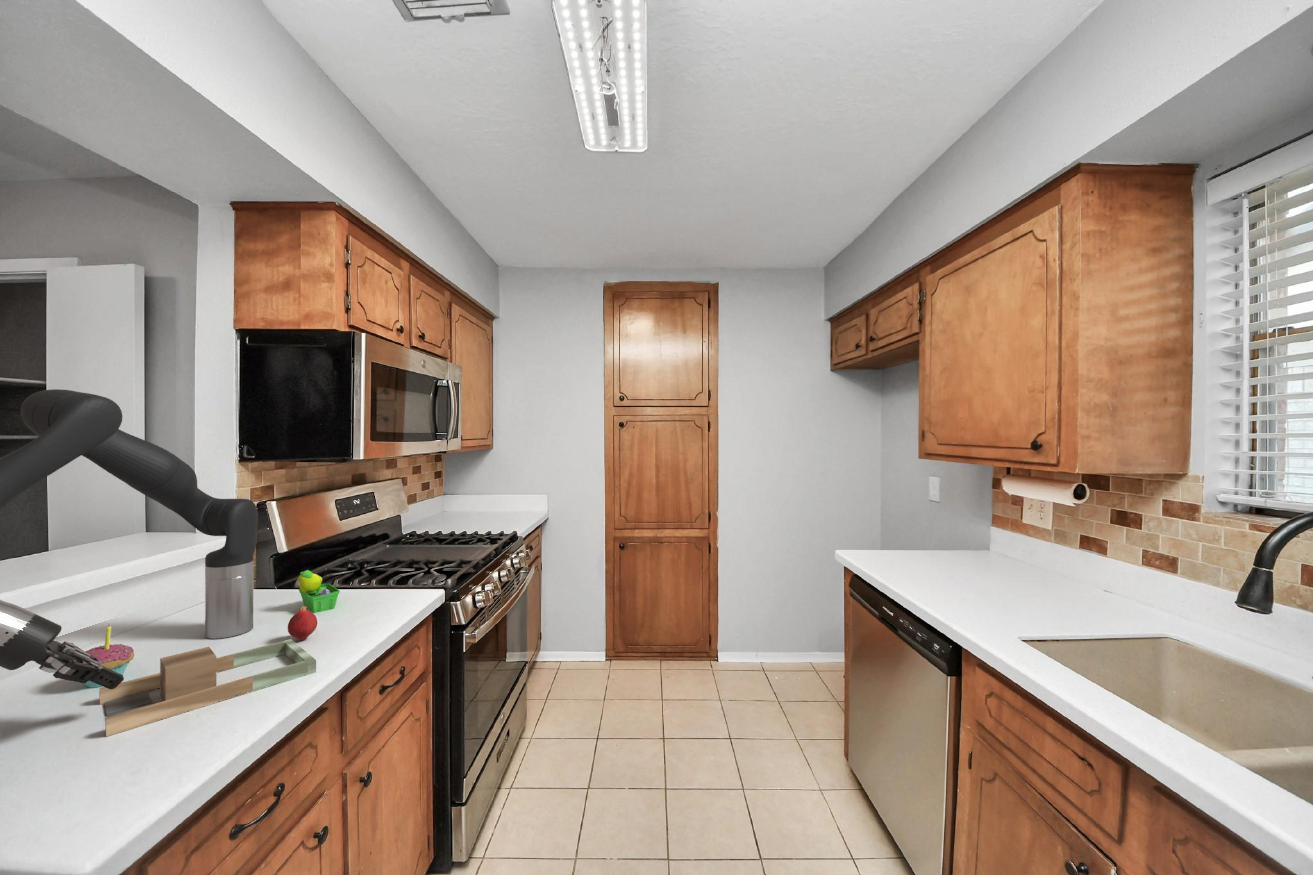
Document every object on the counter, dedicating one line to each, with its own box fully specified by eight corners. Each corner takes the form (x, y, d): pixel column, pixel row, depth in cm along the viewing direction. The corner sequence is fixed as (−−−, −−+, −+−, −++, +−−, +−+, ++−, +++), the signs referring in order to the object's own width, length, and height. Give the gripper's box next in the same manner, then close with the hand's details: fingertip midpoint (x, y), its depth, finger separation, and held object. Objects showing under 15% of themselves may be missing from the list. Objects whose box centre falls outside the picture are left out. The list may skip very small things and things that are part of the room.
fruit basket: (341, 608, 144) (341, 568, 144) (304, 616, 137) (304, 575, 137) (328, 600, 152) (328, 562, 152) (292, 607, 145) (292, 568, 145)
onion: (302, 646, 118) (301, 611, 118) (281, 644, 119) (281, 610, 119) (323, 636, 124) (323, 603, 124) (303, 634, 125) (303, 602, 125)
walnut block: (160, 695, 96) (160, 658, 96) (209, 681, 101) (209, 646, 101) (165, 707, 91) (165, 669, 91) (216, 692, 97) (216, 656, 97)
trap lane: (99, 701, 93) (99, 688, 93) (291, 649, 116) (291, 639, 116) (106, 736, 82) (106, 721, 82) (316, 671, 105) (316, 659, 105)
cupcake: (144, 675, 103) (144, 617, 103) (86, 696, 95) (86, 632, 95) (118, 669, 106) (118, 612, 106) (60, 688, 98) (60, 626, 98)
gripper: (31, 622, 78) (144, 673, 87) (33, 604, 86) (136, 652, 96) (-27, 669, 74) (98, 717, 83) (-19, 645, 82) (94, 691, 91)
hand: (118, 682), depth 89 cm, fingers closed
